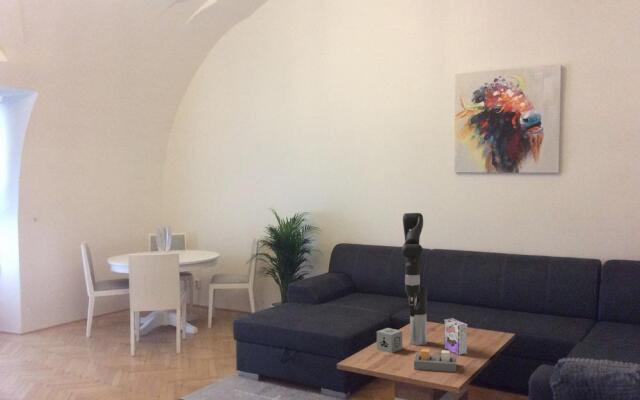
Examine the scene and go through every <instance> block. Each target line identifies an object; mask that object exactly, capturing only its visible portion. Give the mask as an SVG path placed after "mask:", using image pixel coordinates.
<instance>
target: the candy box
mask: <svg viewBox="0 0 640 400" xmlns="http://www.w3.org/2000/svg"><path fill="white" fill-rule="evenodd" d="M443 320H444V323H443V324H444V329H443V330H444V331H443V332H444V350H447V351H450V353H453V354H455V355H457V356H463V355H464V356H465V355H467V354H468V324H467V323H465V322H462V321H459V320H458V319H455V318H453V317H451V318H445V319H443Z"/></svg>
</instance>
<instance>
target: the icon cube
mask: <svg viewBox="0 0 640 400" xmlns="http://www.w3.org/2000/svg"><path fill="white" fill-rule="evenodd" d="M377 349H378V351H381V350H382V351H381V352H386V353H390V354H394V353H395V352H398V351H400V350H402V349H403V330H399V329H394V328H390V327H386V328H383V329H380V330H377V331H376V350H377Z"/></svg>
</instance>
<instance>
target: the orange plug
mask: <svg viewBox="0 0 640 400" xmlns="http://www.w3.org/2000/svg"><path fill="white" fill-rule="evenodd" d="M420 354H421V360H430V355H431V352H430V349H427V348H426V349H425V348H421V350H420Z"/></svg>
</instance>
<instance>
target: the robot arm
mask: <svg viewBox="0 0 640 400" xmlns="http://www.w3.org/2000/svg"><path fill="white" fill-rule="evenodd" d="M402 226H403V235H404V242H403V245H402V247H401V252H400V253H401V255H402V257H403V258H405V274H404V275H405V276H404V290H405V292H406V295H407V299H408V306H409V307H408V309H409V324H410V325H409V326H410V327H409V329H410V330H409V333H410V334H409V335H410V336H409V337H410V340H409V341H410V344H411V345H415V346H424V345H427V342H428V340H427V339H428V338H427V333H428V330H427V327H428V325H427V310H428V309H427V308H428V288H427V287H426V285H421V277H420V269H421V267H422V265H423V251H424V249H423V247H422V245H421V244H420V240H421V239H420V238H421V234H422V232H423V227H424V217H423V214H422V213H421V212H407V213H403V215H402ZM417 302H419V304H418V305H417Z"/></svg>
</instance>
